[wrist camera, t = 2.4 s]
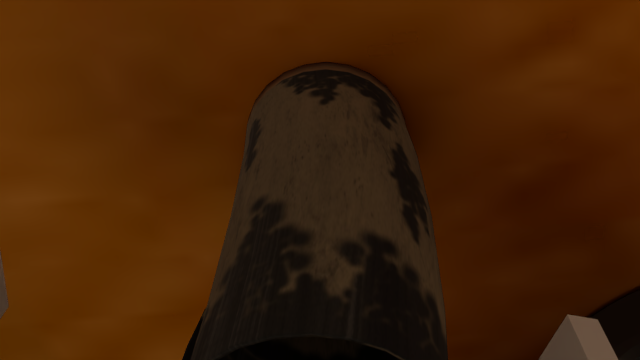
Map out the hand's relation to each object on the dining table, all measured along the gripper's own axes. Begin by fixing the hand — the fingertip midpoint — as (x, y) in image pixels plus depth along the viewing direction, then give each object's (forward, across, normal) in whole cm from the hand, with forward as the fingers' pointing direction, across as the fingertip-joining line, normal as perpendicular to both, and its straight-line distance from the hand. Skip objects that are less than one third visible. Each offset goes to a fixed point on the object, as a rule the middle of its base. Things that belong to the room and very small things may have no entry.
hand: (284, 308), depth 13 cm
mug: (+8, 0, 0) cm, 8 cm away
